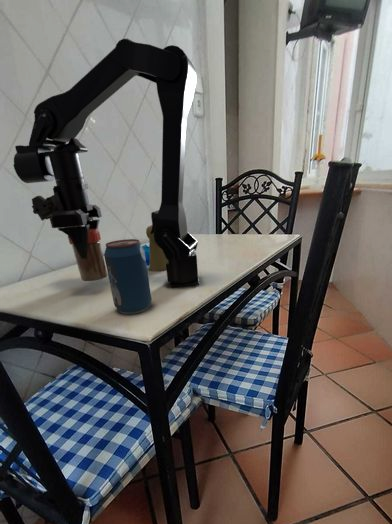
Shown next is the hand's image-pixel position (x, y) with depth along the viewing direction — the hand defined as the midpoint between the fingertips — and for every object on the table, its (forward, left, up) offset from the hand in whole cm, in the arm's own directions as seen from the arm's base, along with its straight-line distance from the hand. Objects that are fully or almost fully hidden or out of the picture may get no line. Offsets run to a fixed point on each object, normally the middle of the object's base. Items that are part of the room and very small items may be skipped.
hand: (87, 255), depth 73 cm
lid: (0, 0, +5) cm, 5 cm away
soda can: (-12, +20, -7) cm, 24 cm away
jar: (0, 0, -5) cm, 5 cm away
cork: (-16, -10, -7) cm, 20 cm away
